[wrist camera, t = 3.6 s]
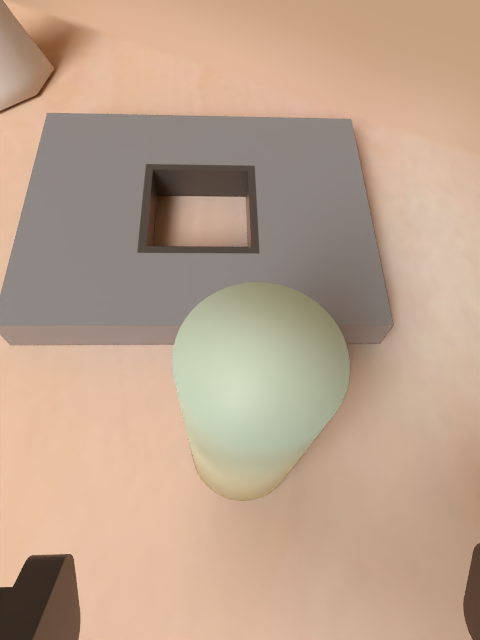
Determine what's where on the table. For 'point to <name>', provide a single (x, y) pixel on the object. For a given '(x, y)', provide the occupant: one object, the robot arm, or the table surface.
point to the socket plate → (187, 262)
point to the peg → (256, 384)
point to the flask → (19, 62)
